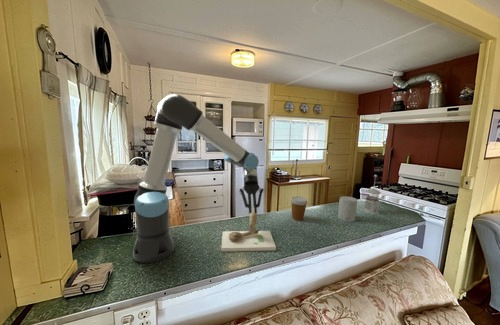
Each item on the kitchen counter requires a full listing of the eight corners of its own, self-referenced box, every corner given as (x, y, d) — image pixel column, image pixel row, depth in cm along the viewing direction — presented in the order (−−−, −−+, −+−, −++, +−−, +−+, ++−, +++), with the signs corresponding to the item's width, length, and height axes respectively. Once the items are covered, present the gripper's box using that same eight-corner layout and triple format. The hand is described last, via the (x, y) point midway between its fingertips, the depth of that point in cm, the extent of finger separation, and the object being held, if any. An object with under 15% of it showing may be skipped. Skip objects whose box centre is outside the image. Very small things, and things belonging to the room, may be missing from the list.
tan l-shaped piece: (231, 242, 87) (232, 220, 85) (227, 235, 92) (227, 215, 90) (261, 236, 93) (262, 215, 91) (255, 230, 98) (256, 210, 97)
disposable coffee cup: (306, 223, 112) (308, 202, 111) (289, 221, 114) (290, 200, 112) (305, 216, 122) (307, 197, 120) (289, 214, 124) (290, 195, 122)
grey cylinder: (334, 217, 121) (336, 198, 119) (341, 213, 128) (343, 195, 126) (351, 223, 114) (353, 202, 112) (357, 218, 121) (360, 199, 119)
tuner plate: (221, 251, 83) (221, 247, 83) (222, 234, 97) (222, 231, 97) (275, 250, 86) (275, 246, 85) (269, 233, 99) (269, 230, 99)
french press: (372, 208, 138) (377, 173, 134) (385, 215, 127) (390, 177, 123) (359, 208, 137) (363, 172, 134) (370, 215, 126) (375, 176, 122)
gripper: (239, 174, 106) (240, 218, 92) (263, 174, 107) (268, 217, 94) (238, 181, 112) (239, 223, 99) (261, 181, 113) (265, 222, 100)
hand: (253, 220), depth 96 cm, fingers closed
